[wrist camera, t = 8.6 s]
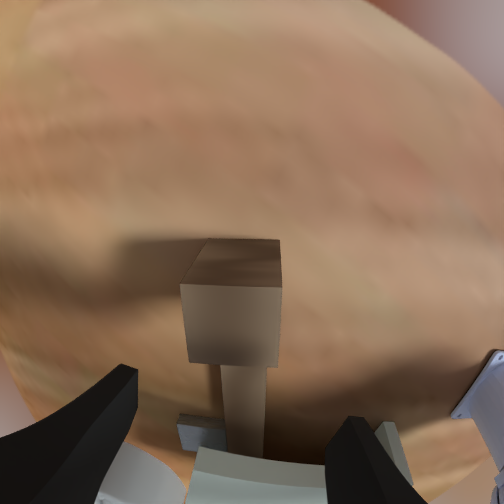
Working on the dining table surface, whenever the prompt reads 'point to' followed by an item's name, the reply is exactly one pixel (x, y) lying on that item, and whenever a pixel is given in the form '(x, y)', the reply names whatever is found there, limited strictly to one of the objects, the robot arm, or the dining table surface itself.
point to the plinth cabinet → (272, 476)
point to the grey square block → (202, 433)
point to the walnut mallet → (236, 328)
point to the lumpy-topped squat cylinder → (139, 480)
